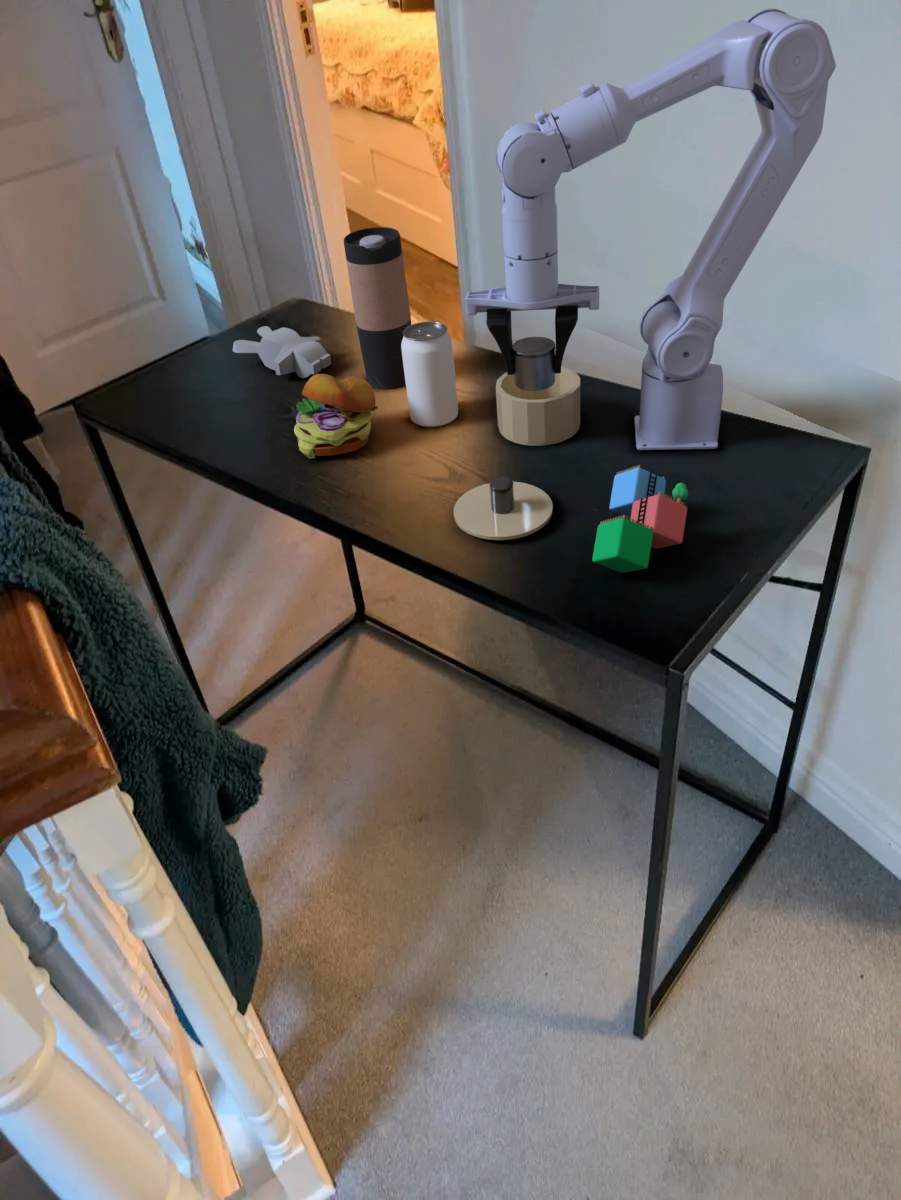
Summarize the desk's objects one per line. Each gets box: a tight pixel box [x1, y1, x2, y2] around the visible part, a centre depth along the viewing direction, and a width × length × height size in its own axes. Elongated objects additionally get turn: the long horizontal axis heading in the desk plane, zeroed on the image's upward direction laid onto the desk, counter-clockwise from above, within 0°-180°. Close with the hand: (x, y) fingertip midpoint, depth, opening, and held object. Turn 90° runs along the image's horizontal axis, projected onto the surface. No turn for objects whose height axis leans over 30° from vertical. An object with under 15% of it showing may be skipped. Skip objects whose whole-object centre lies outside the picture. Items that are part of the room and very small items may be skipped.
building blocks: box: [591, 464, 689, 574], centre depth 91 cm, size 8×8×12 cm
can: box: [401, 321, 459, 428], centre depth 115 cm, size 6×6×12 cm
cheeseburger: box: [293, 373, 379, 459], centre depth 114 cm, size 10×11×10 cm
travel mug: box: [343, 226, 412, 390], centre depth 123 cm, size 8×8×20 cm
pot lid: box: [453, 476, 554, 541], centre depth 98 cm, size 11×11×4 cm
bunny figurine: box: [232, 325, 332, 379], centre depth 135 cm, size 10×5×15 cm
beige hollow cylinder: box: [495, 365, 581, 447], centre depth 113 cm, size 10×10×6 cm
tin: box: [512, 336, 556, 391], centre depth 103 cm, size 5×5×4 cm
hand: (534, 370), depth 104 cm, fingers closed on tin, 5 cm apart
